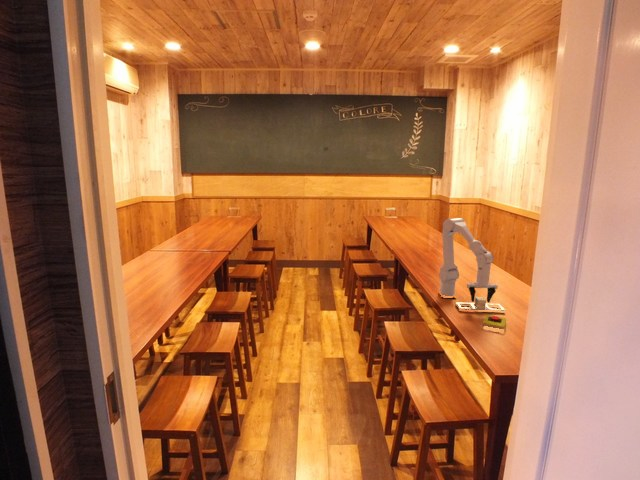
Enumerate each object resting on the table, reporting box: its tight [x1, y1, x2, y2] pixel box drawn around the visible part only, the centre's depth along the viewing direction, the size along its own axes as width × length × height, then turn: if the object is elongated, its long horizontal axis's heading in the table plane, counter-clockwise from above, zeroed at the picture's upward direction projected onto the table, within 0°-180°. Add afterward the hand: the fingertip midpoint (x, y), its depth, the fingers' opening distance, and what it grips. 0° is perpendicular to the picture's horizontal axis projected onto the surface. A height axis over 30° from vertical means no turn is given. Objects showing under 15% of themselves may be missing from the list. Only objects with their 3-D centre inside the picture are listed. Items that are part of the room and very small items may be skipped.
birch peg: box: [474, 296, 487, 308], centre depth 201 cm, size 4×4×6 cm
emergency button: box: [482, 314, 507, 330], centre depth 182 cm, size 9×4×15 cm
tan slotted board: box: [455, 301, 506, 312], centre depth 201 cm, size 8×22×2 cm, turn 86°
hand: (480, 301), depth 200 cm, fingers open, 7 cm apart
